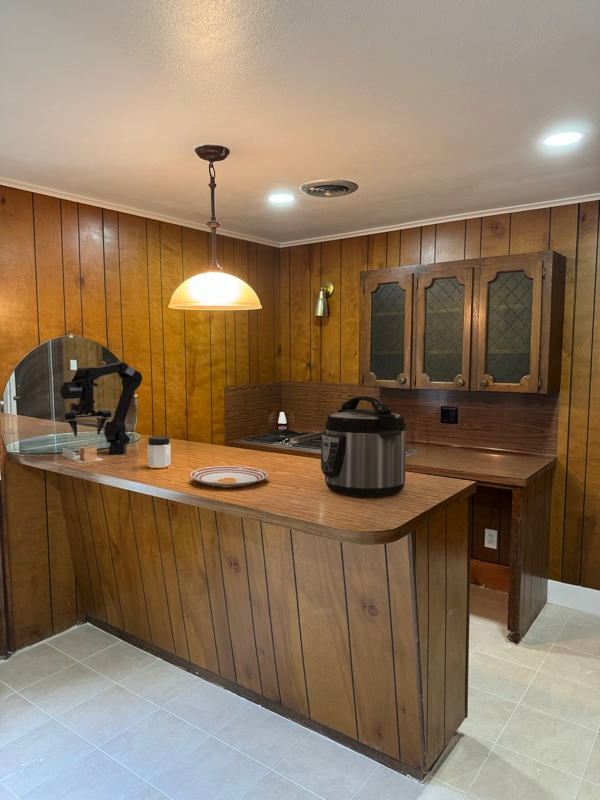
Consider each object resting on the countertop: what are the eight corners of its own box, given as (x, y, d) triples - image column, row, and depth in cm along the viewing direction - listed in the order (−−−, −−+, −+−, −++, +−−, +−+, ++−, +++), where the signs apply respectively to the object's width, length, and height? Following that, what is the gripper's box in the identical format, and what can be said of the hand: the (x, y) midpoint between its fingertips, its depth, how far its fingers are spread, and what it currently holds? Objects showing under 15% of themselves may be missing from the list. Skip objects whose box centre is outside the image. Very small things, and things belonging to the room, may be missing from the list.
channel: (59, 457, 240) (59, 448, 240) (83, 455, 247) (83, 446, 247) (79, 466, 222) (79, 456, 222) (103, 463, 229) (103, 453, 229)
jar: (163, 469, 217) (163, 439, 216) (144, 468, 219) (144, 438, 218) (173, 465, 225) (173, 436, 225) (155, 464, 227) (155, 435, 226)
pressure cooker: (324, 478, 204) (326, 392, 202) (402, 481, 201) (405, 394, 198) (316, 498, 175) (318, 398, 172) (407, 502, 171) (410, 400, 169)
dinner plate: (282, 479, 202) (282, 470, 202) (236, 495, 179) (236, 484, 179) (223, 471, 216) (223, 463, 216) (173, 484, 193) (173, 475, 193)
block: (80, 459, 228) (80, 447, 228) (92, 458, 231) (92, 446, 231) (84, 461, 224) (84, 449, 224) (96, 460, 228) (96, 447, 227)
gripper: (101, 395, 240) (102, 431, 241) (56, 397, 227) (57, 435, 229) (111, 397, 231) (112, 434, 232) (65, 399, 219) (66, 438, 220)
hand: (87, 435), depth 229 cm, fingers open, 9 cm apart
